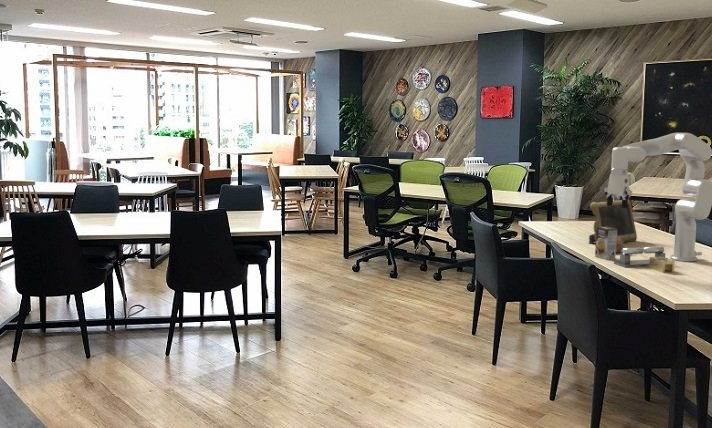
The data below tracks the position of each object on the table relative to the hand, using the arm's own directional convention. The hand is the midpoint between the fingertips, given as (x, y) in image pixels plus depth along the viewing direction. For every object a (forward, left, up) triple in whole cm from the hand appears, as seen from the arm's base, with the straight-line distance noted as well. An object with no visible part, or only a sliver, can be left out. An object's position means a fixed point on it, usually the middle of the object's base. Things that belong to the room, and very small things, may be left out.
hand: (616, 206), depth 327 cm
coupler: (-15, +16, -29) cm, 37 cm away
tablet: (-35, -53, -30) cm, 70 cm away
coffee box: (-5, -15, -29) cm, 33 cm away
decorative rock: (-19, -29, -30) cm, 45 cm away
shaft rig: (-14, +3, -29) cm, 32 cm away
